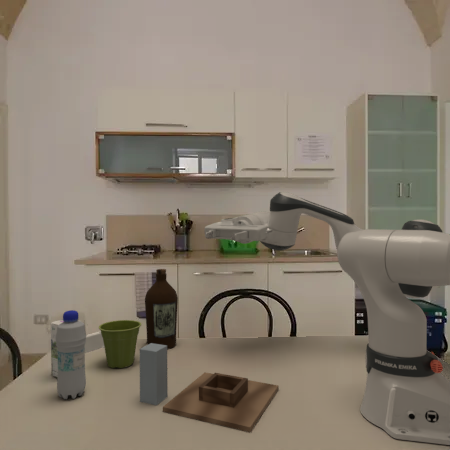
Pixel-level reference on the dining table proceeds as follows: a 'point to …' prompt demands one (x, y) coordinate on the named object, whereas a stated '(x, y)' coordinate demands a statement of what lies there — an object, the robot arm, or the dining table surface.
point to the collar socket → (223, 400)
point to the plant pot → (120, 342)
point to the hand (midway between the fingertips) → (220, 236)
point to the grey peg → (153, 373)
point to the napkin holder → (94, 342)
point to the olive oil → (161, 312)
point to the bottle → (71, 356)
